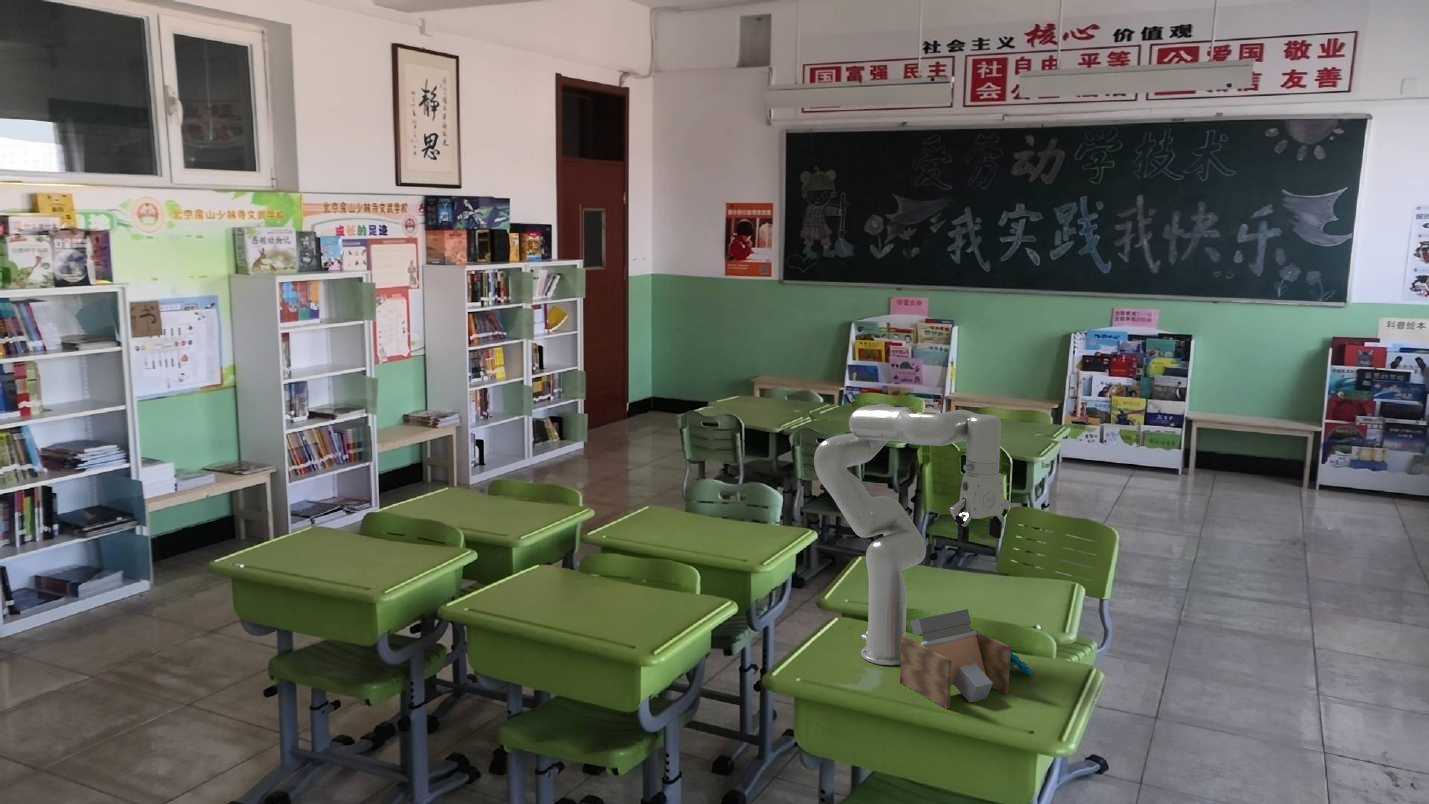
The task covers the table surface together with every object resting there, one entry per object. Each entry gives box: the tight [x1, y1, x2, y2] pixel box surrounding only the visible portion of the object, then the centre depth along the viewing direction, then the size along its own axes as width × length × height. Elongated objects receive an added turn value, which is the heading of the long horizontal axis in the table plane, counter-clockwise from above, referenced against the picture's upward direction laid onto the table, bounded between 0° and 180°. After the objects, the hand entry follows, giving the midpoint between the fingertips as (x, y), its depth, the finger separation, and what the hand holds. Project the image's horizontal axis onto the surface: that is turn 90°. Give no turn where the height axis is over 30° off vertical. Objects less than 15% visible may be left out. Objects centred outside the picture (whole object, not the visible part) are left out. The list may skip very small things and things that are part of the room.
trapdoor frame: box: [899, 628, 1012, 710], centre depth 250 cm, size 17×19×12 cm
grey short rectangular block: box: [953, 664, 993, 703], centre depth 245 cm, size 5×5×6 cm
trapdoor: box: [909, 609, 986, 686], centre depth 252 cm, size 16×16×4 cm
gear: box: [1010, 650, 1033, 676], centre depth 259 cm, size 11×6×10 cm
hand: (978, 539), depth 248 cm, fingers open, 9 cm apart
